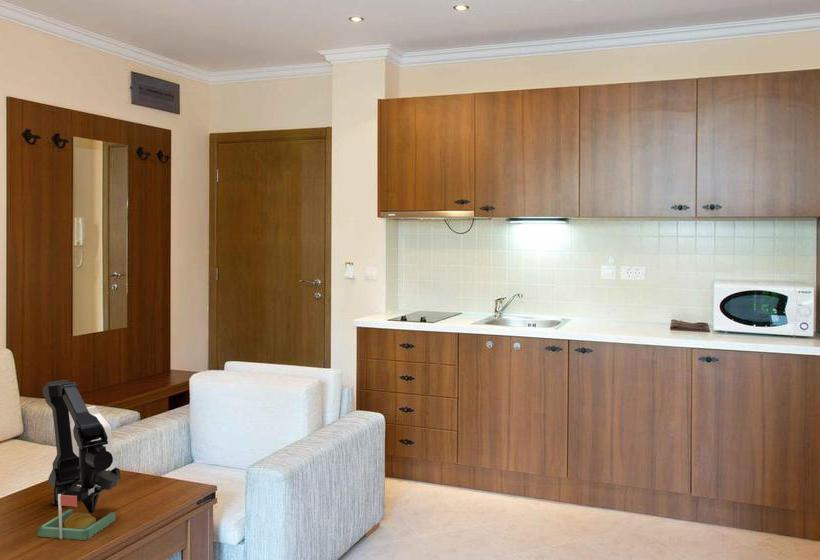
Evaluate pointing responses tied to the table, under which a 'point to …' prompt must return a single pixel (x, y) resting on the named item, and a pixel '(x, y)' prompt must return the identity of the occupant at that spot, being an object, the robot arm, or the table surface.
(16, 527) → the table surface
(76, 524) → the bread roll
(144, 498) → the table surface
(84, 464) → the robot arm
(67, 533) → the mini golf green
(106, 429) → the milk
